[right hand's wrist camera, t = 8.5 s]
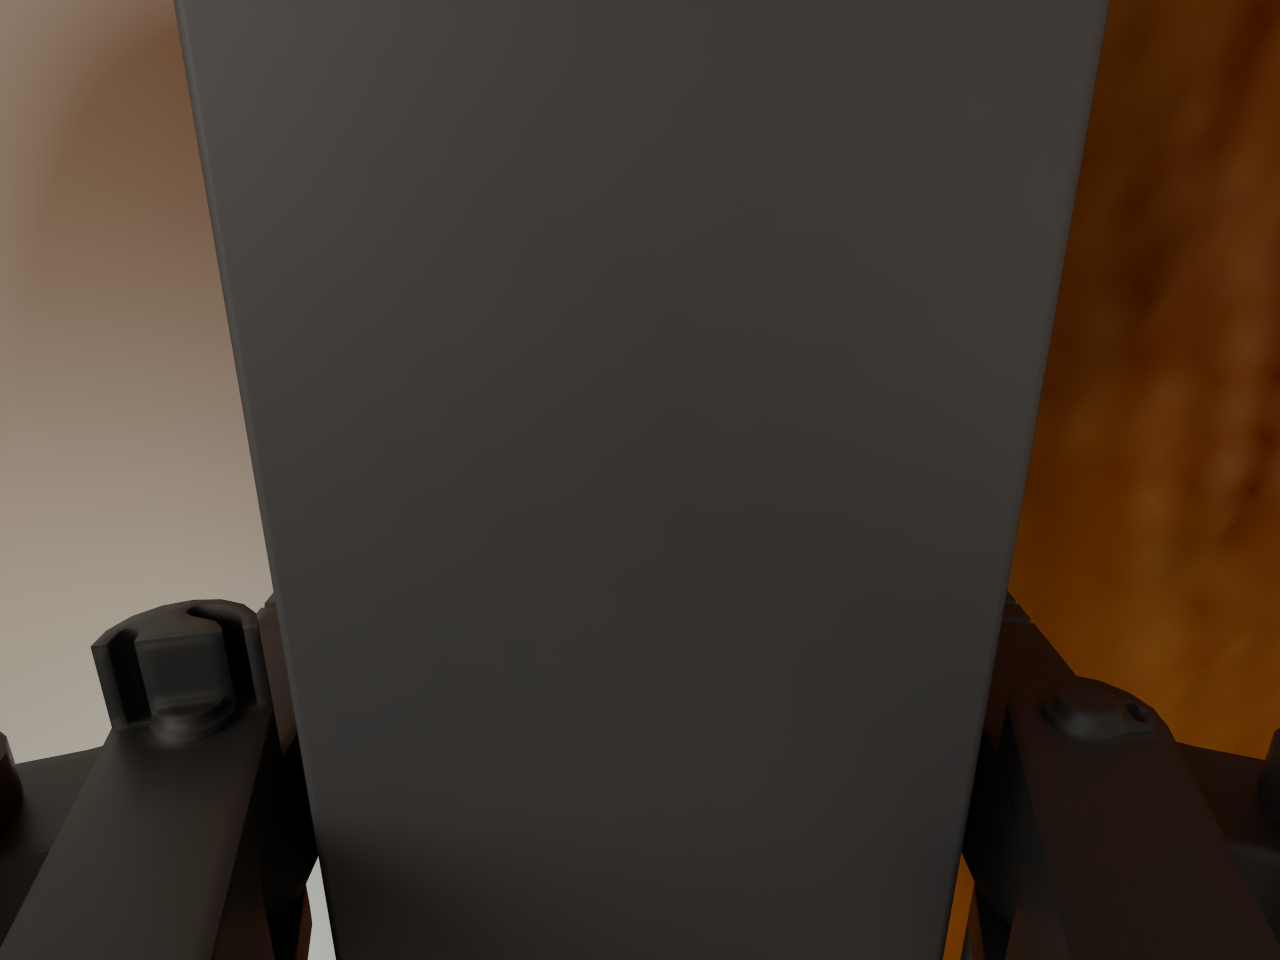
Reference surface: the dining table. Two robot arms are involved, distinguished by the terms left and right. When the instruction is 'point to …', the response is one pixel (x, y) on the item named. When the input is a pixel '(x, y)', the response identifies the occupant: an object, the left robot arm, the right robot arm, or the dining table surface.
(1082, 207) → the dining table surface
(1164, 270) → the dining table surface
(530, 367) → the bar
